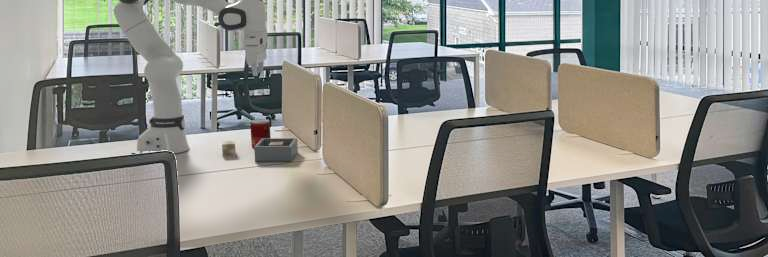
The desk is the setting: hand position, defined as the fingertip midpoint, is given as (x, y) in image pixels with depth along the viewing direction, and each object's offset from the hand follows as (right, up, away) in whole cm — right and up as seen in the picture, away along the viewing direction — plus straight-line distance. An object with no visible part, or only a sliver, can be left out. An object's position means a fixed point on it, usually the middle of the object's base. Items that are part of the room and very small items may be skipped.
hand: (258, 74), depth 283 cm
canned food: (-1, -29, +14) cm, 32 cm away
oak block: (-12, -32, +1) cm, 34 cm away
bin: (+8, -33, -4) cm, 34 cm away
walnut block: (+8, -32, -5) cm, 33 cm away
